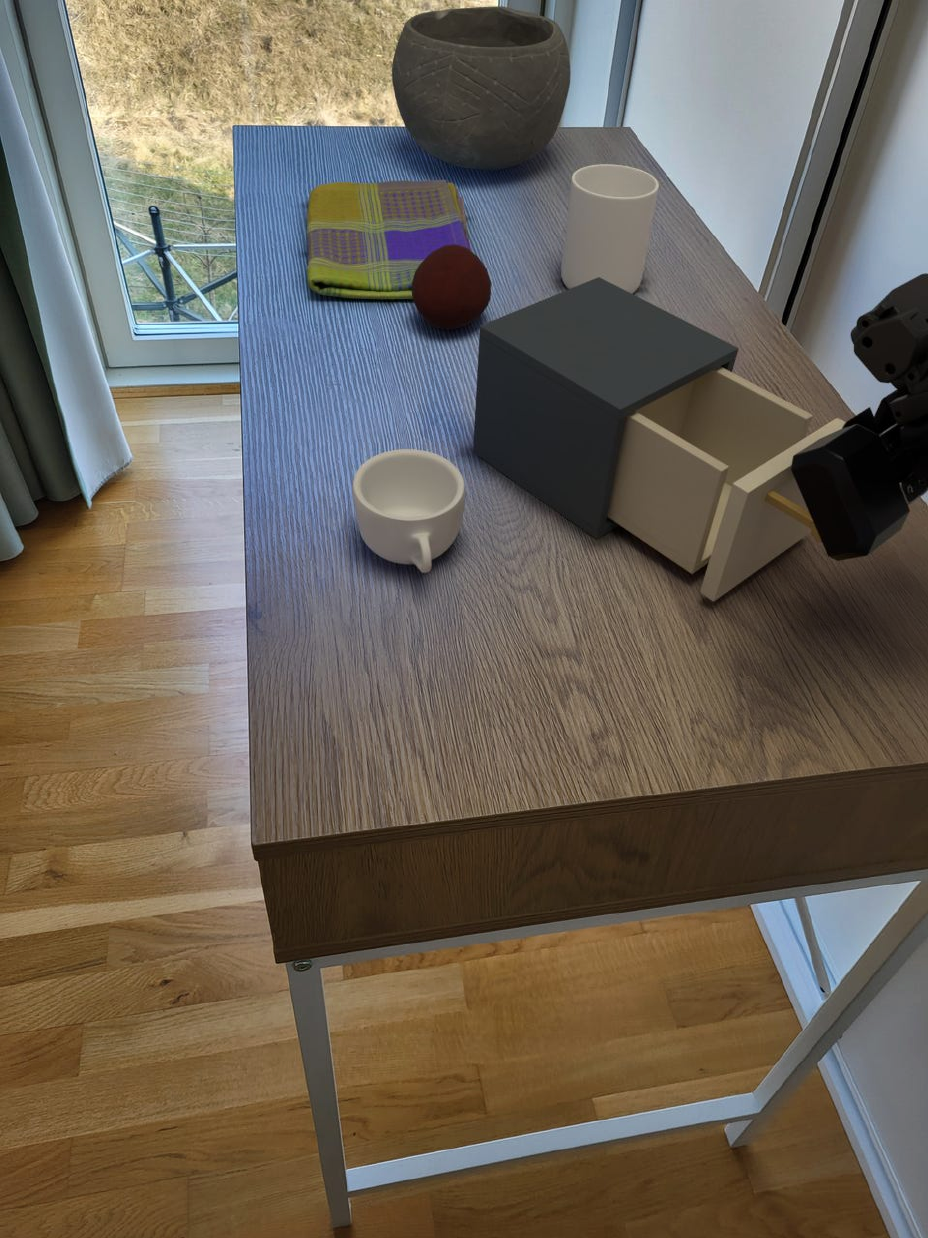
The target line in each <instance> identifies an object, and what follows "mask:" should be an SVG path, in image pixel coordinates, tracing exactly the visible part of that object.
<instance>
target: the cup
mask: <svg viewBox="0 0 928 1238" xmlns="http://www.w3.org/2000/svg"><path fill="white" fill-rule="evenodd" d="M659 187H660V185H659V182H658V179H656V177H654V176H653V175H652V174H650V173H648V172H646V171H644V170H641V169H639V168H635V167H633V166H628V165H621V164H613V163H612V164H611V163H610V164H609V163H607V164H606V163H601V164H593V165H592V164H591V165H588V166H583V167H581V168H579V169H577V170H575V172H574V173H573V174H572V176H571V182H570V188H569V189H570V190H569V198H568V207H567V216H566V223H565V231H564V232H565V233H564V240H563V250H562V257H561V265H560V266H561V267H560V268H561V269H560V276H561V280H562V282H563V284H564V286H565V287H566V288H567V289H571V288H573V287H576V286H578V285H581V284H583V283H585V282H588V281H590V280H593V279H595V278H598V277H600V278H602V279H604V280H606V281H608V282H610V283H612V284H614V285H616V286H618V287H619V288H621V289H623V290H625V291H627V292H629V293H631V294H634V293H635V292H636V291H637V290H638V288H639V287H640V285H641V282H642V279H643V275H644V270H645V264H646V258H647V253H648V248H649V244H650V243H649V242H650V236H651V231H652V226H653V220H654V215H655V209H656V205H657V200H658V194H659V193H658V192H659Z"/></svg>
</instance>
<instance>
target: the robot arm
mask: <svg viewBox="0 0 928 1238" xmlns="http://www.w3.org/2000/svg"><path fill="white" fill-rule="evenodd" d="M850 340H851V342H852V345H853V353H854V355H855V357H857V359H858V360H859V361H860V362H861V363H862V364H863V365H864V367H865V368H866V369H867V371H869V373H870V374H871V375H872V376H873V377H874V379H875V380H876V381H877V382H879V383H882V384H891V385H892V386H893V387H894V388H895V390H894V391H892V392H890V393H889V394H887V395H886V396H884V397H883V398H882V399H881V400H880V402H879V404H878V407H877V409H876V411H875V413H873V411H872V408H871V407H870V406H869V407H867V408H865V409H864V410H863V411H861V412H859V413H857V414H856V415H854V416H853V417H851V418H849V419H848V420H847V421H845V422H846V423H845V424H844V425H843V427H842V429H840V430H838V431H836V432H834V433H831V434H829V435H827V436H825V437H822V438H820V439H819V440H817V441H816V442H814V443H813V444H811V445H809V446H808V447H806V448H805V449H803V450H802V451H800V452H798V453H797V454H795V455H794V456H793V459H792V466H791V471H792V473H793V476H794V478H795V480H796V483H797V485H798V487H799V490H800V492H801V494H802V497H803V499H804V501H805V504H806V506H807V508H808V511H809V513H810V515H811V518H812V520H813V522H814V525H815V527H816V529H817V532H818V534H819V536H820V539H821V541H822V542H821V543H822V546H823V548H824V550H825V553H826V555H827V557H829V558H831V559H832V560H835V561H837V562H840V561H846V560H851V559H858V558H862V557H867V556H869V555H870V554H872V553H873V552H874V551H875V550H877V549H878V548H879V547H880V546H882V545H883V544H884V543H886V542H887V541H888V540H889V539H891V538H892V537H893V536H895V535H896V534H898V532H900V531H901V530H902V528H903V526H904V524H905V522H906V520H907V518H908V517H909V515H910V513H911V510H910V507H909V505H912V504H913V503H915V502H916V501H917V500H919V499H920V498H922V497H923V496H924V495H925V494H927V492H928V273H926V272H925V273H921V274H919V275H917V276H915V277H914V278H912V279H909V280H908V281H905V282H903V283H902V284H900V285H899V286H896V287H894V288H893V289H892V290H891V291H890V292H888V293H887V294H886V295H885V296H884V298H883V299H881V300H880V301H879V302H878V303H877V304H876V305H875V306H874V307H873V308H872V309H871V310H869V311H867V312H865V313H864V314H862V315H860V316H859V317H858V318H857V320H856V325H855V326H854V327H853V328H852V329H851V331H850Z"/></svg>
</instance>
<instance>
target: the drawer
mask: <svg viewBox="0 0 928 1238" xmlns="http://www.w3.org/2000/svg"><path fill="white" fill-rule="evenodd" d="M813 416H814V415H813V414H811V413H810V412H808V411H806V410H804V409H803V408H800V407H799V406H796V405H795V404H792V403H791V402H789V401H787V400H785V399H783V398H782V397H780V396H777V395H776V394H774V393H772V392H770V391H768V390H767V389H764V388H762V387H761V386H759V385H756V384H755V383H753V382H751V381H749V380H747V379H745V378H743V377H742V376H739V375H738V374H735V373H734V372H733V371H732V372H730V371H728V370H726V369H724V368H723V367H721V366H720V367H718V368H716V369H714V370H712V371H710V372H708V373H707V374H705V375H703V376H701V377H699V378H697V379H695V380H693V381H691V382H689V383H688V384H686V385H684V386H682V387H680V388H678V389H676V390H674V391H672V392H670V393H669V394H667V395H665V396H663V397H661V398H659V399H657V400H655V401H653V402H651V403H650V404H648V405H646V406H644V407H642V408H640V409H638V410H636V411H634V412H632V413H631V414H629V415H627V416H626V420H625V425H624V431H623V436H622V441H621V446H620V452H619V457H618V462H617V468H616V473H615V478H614V483H613V489H612V494H611V499H610V504H609V510H608V515H607V517H609V518H610V519H612V520H613V521H614V522H616V523H617V524H619V526H620V527H622V528H623V529H624V530H626V531H628V532H629V533H631V534H632V535H634V536H635V537H637V538H638V539H640V540H641V541H643V542H644V543H645V544H647V545H648V546H649V547H651V548H653V550H656V551H657V552H658V553H660V554H661V555H663V556H664V557H666V558H667V559H669V560H670V561H671V562H674V564H676V565H678V566H680V568H682V569H684V570H685V571H686V572H688V573H690V574H691V575H692V574H694V573H696V572H697V571H699V570H700V569H701V568H704V567H705V566H706V565H707V567H706V571H705V574H704V577H703V581H702V584H701V588H700V590H699V593H700V594H701V595H703V596H704V597H706V598H707V599H709V600H710V601H711V602H713V603H714V602H715V601H717V600H719V599H720V598H721V597H722V596H724V595H725V594H727V593H728V592H729V591H731V590H732V589H733V588H735V587H736V586H738V585H739V584H740V583H741V582H744V581H746V579H747V578H750V576H752V575H753V574H754V573H756V572H757V571H759V570H761V568H763V567H764V566H766V565H767V564H769V563H770V562H771V561H773V560H774V559H776V558H777V557H778V556H779V555H781V554H782V553H784V552H785V551H786V550H788V549H789V548H791V547H792V546H794V545H795V544H797V543H798V542H799V541H801V540H802V539H803V538H805V537H806V536H808V535H809V534H811V536H812V538H813V539H814V540H815V541H817V542H819V543H822V541H821V539H820V536H819V534H818V532H817V529H816V527H815V525H814V522H813V520H812V518H811V515H810V513H809V511H808V508H807V506H806V504H805V501H804V499H803V497H802V494H801V492H800V490H799V487H798V485H797V483H796V480H795V478H794V476H793V473H792V471H791V466H792V459H793V456H794V455H795V454H797V453H798V452H800V451H802V450H803V449H805V448H806V447H808V446H809V445H811V444H813V443H814V442H816V441H817V440H819V439H820V438H822V437H825V436H827V435H829V434H831V433H834V432H836V431H838V430H840V429H842V427H843V425H844V424H845V423H846V422H847V421H845V420H842V419H840V418H838V417H836V418H834V419H833V420H831V421H830V422H828V423H827V424H825V425H823V426H821V427H820V428H818V429H817V430H815V431H814V432H812V433H811V434H809V435H807V433H808V431H809V427H810V425H811V422H812V420H813V418H814V417H813Z"/></svg>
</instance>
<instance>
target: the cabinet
mask: <svg viewBox="0 0 928 1238" xmlns="http://www.w3.org/2000/svg"><path fill="white" fill-rule="evenodd" d="M478 334H479V338H478V352H477V353H478V355H477V371H476V391H475V408H474V427H473V442H472V443H473V444H472V445H473V447H472V453H473V454H474V455H475V456H477V457H478V458H480V459H481V460H482V461H484V462H486V463H488V465H490V466H492V467H493V468H494V469H496V470H497V471H499V472H500V473H501V474H503V475H504V476H505V477H507V478H508V479H510V480H512V481H513V482H514V483H516V484H517V485H518V486H520V487H521V488H523V489H524V490H526V491H527V492H529V493H530V494H531V495H532V496H534V497H536V498H537V499H538V500H540V501H542V503H544V504H546V505H547V506H548V507H550V508H551V509H553V510H554V511H555V512H557V513H558V514H560V515H561V516H563V517H564V518H565V519H567V520H568V521H570V522H571V523H573V524H574V525H576V526H577V527H578V528H579V529H581V530H582V531H584V532H586V534H589V535H590V536H591V537H593V538H595V540H598V539H600V538H601V537H603V536H604V535H606V534H607V533H609V532H611V531H613V530H614V529H616V528H618V527H619V526H620V525H619V524H617V523H616V522H614V521H613V520H612V519H610V518H609V517H607V515H608V510H609V504H610V499H611V494H612V489H613V483H614V478H615V473H616V468H617V462H618V457H619V452H620V446H621V441H622V436H623V431H624V425H625V420H626V416H627V415H629V414H631V413H632V412H634V411H636V410H638V409H640V408H642V407H644V406H646V405H648V404H650V403H651V402H653V401H655V400H657V399H659V398H661V397H663V396H665V395H667V394H669V393H670V392H672V391H674V390H676V389H678V388H680V387H682V386H684V385H686V384H688V383H689V382H691V381H693V380H695V379H697V378H699V377H701V376H703V375H705V374H707V373H708V372H710V371H712V370H714V369H716V368H718V367H720V366H721V367H723V368H724V369H726V370H728V371H730V372H732V373H733V370H734V366H735V363H736V358H737V356H738V353H739V347H737V346H735V345H733V344H731V343H730V342H728V341H725V340H724V339H721V338H720V337H718V336H716V335H713V334H712V333H710V332H708V331H706V330H704V329H702V328H700V327H698V326H696V325H694V324H692V323H690V322H689V321H687V320H685V319H682V318H680V317H678V316H676V315H674V314H672V313H671V312H669V311H667V310H665V309H662V308H661V307H659V306H657V305H655V304H653V303H651V302H649V301H647V300H645V299H643V298H641V297H639V296H637V295H635V294H634V293H632V294H631V293H629V292H627V291H625V290H623V289H621V288H619V287H618V286H616V285H614V284H612V283H610V282H608V281H606V280H604V279H602V278H600V277H598V278H595V279H593V280H590V281H588V282H585V283H583V284H581V285H578V286H576V287H573V288H571V289H569V288H567V289H566V290H564V291H561V292H559V293H557V294H554V295H551V296H549V297H546V298H544V299H542V300H539V301H537V302H535V303H532V304H530V305H527V306H525V307H523V308H520V309H518V310H515V311H512V312H510V313H508V314H505V315H503V316H500V317H498V318H496V319H493V320H491V321H488V322H486V323H483V324H481V325H479V333H478Z"/></svg>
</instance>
